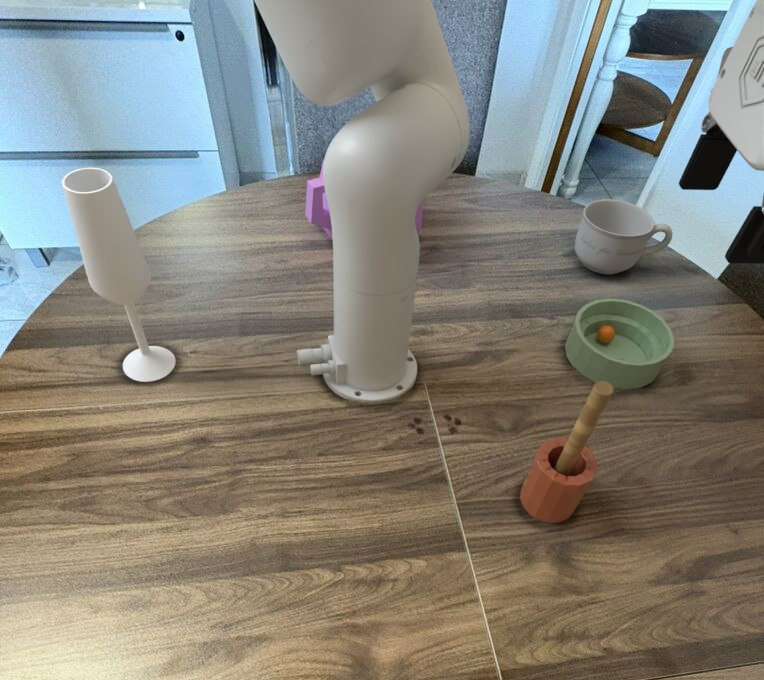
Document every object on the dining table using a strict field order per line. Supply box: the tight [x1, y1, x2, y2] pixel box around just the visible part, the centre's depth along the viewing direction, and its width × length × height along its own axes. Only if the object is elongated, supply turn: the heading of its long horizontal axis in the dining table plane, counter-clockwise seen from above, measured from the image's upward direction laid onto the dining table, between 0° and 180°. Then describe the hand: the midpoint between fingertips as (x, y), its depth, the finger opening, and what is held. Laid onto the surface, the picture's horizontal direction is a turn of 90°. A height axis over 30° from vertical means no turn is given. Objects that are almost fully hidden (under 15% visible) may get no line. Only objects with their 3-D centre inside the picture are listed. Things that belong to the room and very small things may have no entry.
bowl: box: [564, 297, 676, 390], centre depth 84 cm, size 13×13×5 cm
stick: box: [554, 381, 615, 476], centre depth 64 cm, size 2×2×18 cm
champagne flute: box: [61, 167, 176, 383], centre depth 70 cm, size 7×7×24 cm
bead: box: [597, 325, 615, 343], centre depth 86 cm, size 2×2×2 cm
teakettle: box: [304, 159, 424, 242], centre depth 95 cm, size 17×17×12 cm
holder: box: [519, 437, 598, 524], centre depth 68 cm, size 6×6×8 cm
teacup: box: [574, 198, 673, 275], centre depth 95 cm, size 14×11×8 cm
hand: (719, 222), depth 47 cm, fingers open, 9 cm apart
